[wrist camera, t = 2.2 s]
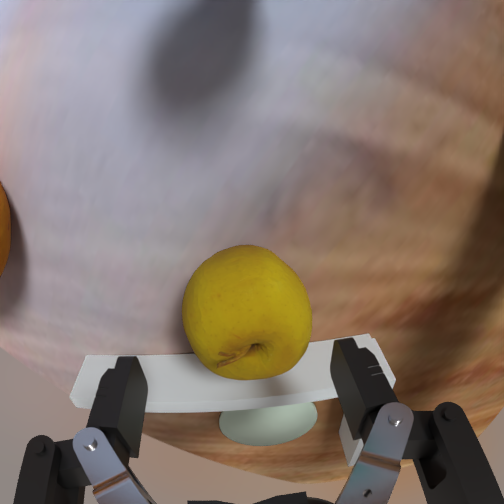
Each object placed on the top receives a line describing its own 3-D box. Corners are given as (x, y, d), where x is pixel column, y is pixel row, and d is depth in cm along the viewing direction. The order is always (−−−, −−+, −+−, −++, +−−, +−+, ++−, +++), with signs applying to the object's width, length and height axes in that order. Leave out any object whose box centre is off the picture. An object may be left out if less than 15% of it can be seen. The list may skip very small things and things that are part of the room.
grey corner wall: (375, 332, 23) (398, 374, 19) (349, 430, 29) (359, 463, 25) (86, 354, 22) (69, 397, 18) (140, 445, 29) (135, 479, 25)
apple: (170, 250, 18) (140, 345, 11) (271, 205, 18) (300, 283, 11) (219, 327, 21) (218, 427, 14) (308, 292, 20) (343, 387, 13)
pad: (319, 383, 25) (321, 389, 24) (312, 435, 29) (313, 439, 28) (212, 394, 25) (212, 400, 24) (225, 444, 29) (226, 448, 28)
